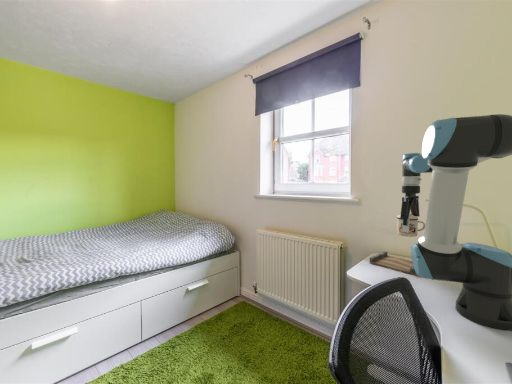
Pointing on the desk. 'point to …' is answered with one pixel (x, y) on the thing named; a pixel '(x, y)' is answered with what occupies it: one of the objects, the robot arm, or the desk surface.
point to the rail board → (393, 263)
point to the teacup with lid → (412, 226)
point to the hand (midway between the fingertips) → (409, 230)
